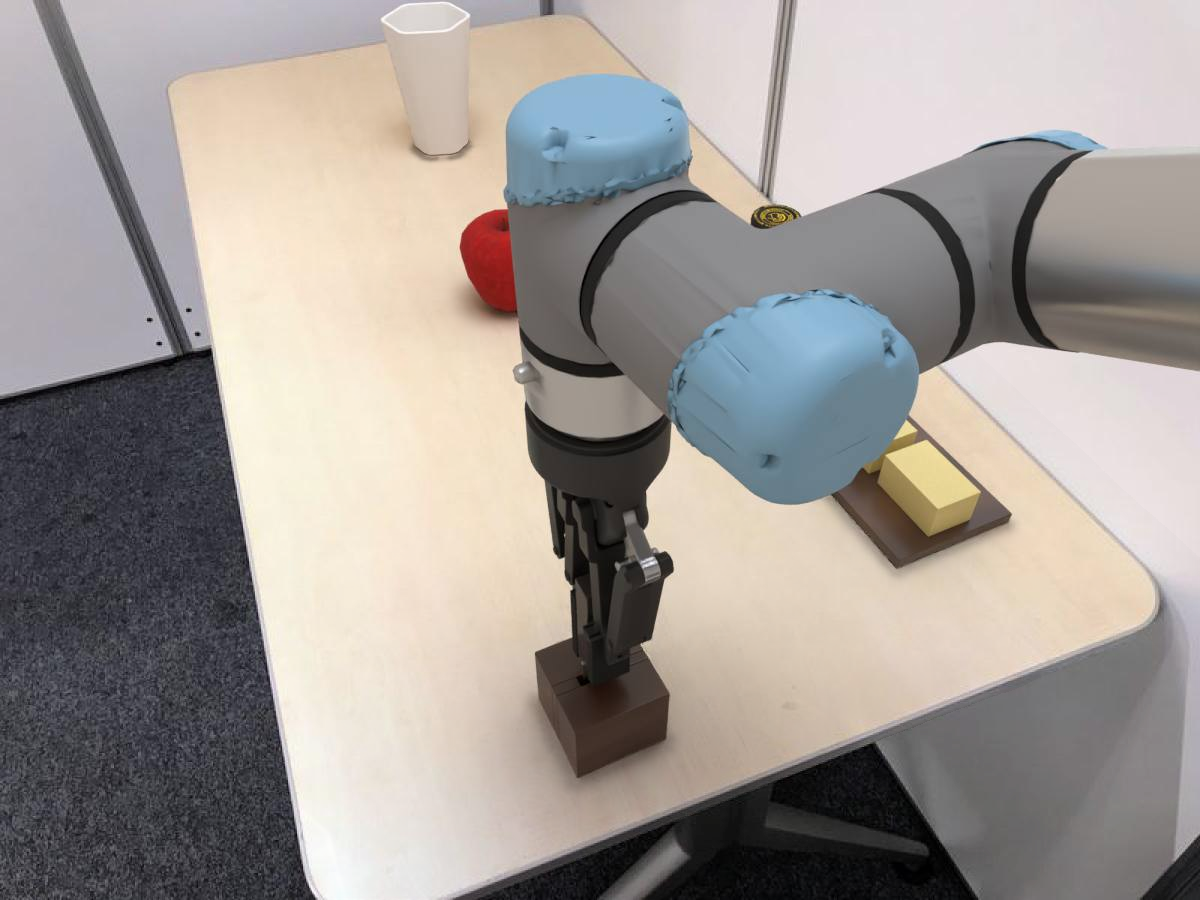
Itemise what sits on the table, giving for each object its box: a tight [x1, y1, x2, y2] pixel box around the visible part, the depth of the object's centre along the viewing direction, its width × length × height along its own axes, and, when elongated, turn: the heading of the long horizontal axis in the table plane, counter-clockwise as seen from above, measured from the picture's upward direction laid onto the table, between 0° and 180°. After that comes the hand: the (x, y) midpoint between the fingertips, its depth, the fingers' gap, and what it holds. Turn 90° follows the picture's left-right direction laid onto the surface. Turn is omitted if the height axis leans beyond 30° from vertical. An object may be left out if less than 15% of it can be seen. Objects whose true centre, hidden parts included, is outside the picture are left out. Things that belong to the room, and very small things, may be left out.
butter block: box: [877, 440, 981, 537], centre depth 83 cm, size 7×4×4 cm, turn 25°
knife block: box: [534, 637, 671, 778], centre depth 68 cm, size 7×7×6 cm
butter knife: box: [575, 573, 593, 686], centre depth 65 cm, size 2×3×16 cm, turn 115°
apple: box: [459, 208, 517, 313], centre depth 103 cm, size 10×10×11 cm
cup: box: [380, 1, 471, 156], centre depth 128 cm, size 11×10×17 cm
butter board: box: [831, 414, 1013, 568], centre depth 87 cm, size 16×12×1 cm
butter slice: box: [863, 420, 918, 474], centre depth 87 cm, size 2×4×4 cm, turn 115°
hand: (600, 659), depth 65 cm, fingers closed on butter knife, 2 cm apart
